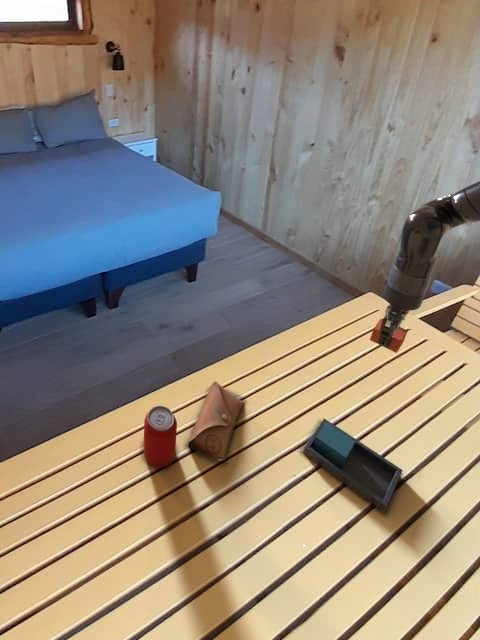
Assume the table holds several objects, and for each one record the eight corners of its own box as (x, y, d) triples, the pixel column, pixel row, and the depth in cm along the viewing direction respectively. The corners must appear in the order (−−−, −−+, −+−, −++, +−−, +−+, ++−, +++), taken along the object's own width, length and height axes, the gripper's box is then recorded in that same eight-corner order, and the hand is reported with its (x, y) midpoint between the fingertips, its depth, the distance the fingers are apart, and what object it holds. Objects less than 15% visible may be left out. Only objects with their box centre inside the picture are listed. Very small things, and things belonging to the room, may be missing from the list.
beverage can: (179, 447, 88) (182, 411, 82) (166, 475, 83) (169, 439, 77) (152, 433, 91) (153, 397, 85) (138, 459, 86) (138, 423, 80)
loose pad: (403, 342, 99) (407, 330, 98) (396, 353, 97) (401, 340, 95) (376, 330, 103) (380, 318, 102) (369, 340, 101) (373, 327, 99)
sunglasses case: (226, 467, 83) (212, 442, 82) (197, 463, 88) (183, 440, 87) (245, 399, 97) (234, 378, 96) (219, 399, 102) (208, 378, 101)
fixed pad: (351, 453, 85) (355, 441, 83) (341, 469, 82) (346, 458, 80) (322, 433, 89) (326, 422, 87) (312, 448, 86) (316, 437, 84)
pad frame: (398, 478, 81) (402, 470, 80) (382, 514, 76) (386, 506, 74) (321, 425, 92) (323, 417, 90) (302, 454, 86) (304, 446, 85)
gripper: (416, 307, 85) (394, 364, 93) (434, 278, 94) (413, 332, 101) (377, 291, 90) (359, 346, 98) (398, 265, 99) (380, 318, 107)
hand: (387, 339), depth 100 cm, fingers closed on loose pad, 5 cm apart
